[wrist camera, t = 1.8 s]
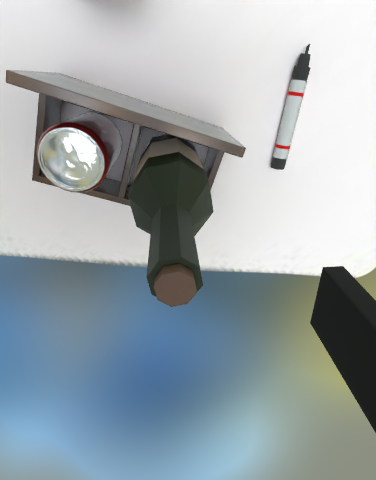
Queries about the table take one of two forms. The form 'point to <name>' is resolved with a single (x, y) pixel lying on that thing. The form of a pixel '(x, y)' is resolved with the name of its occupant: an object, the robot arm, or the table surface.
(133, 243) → the table surface
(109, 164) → the soda can
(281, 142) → the marker
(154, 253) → the wine bottle
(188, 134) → the divided wooden storage box
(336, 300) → the robot arm
